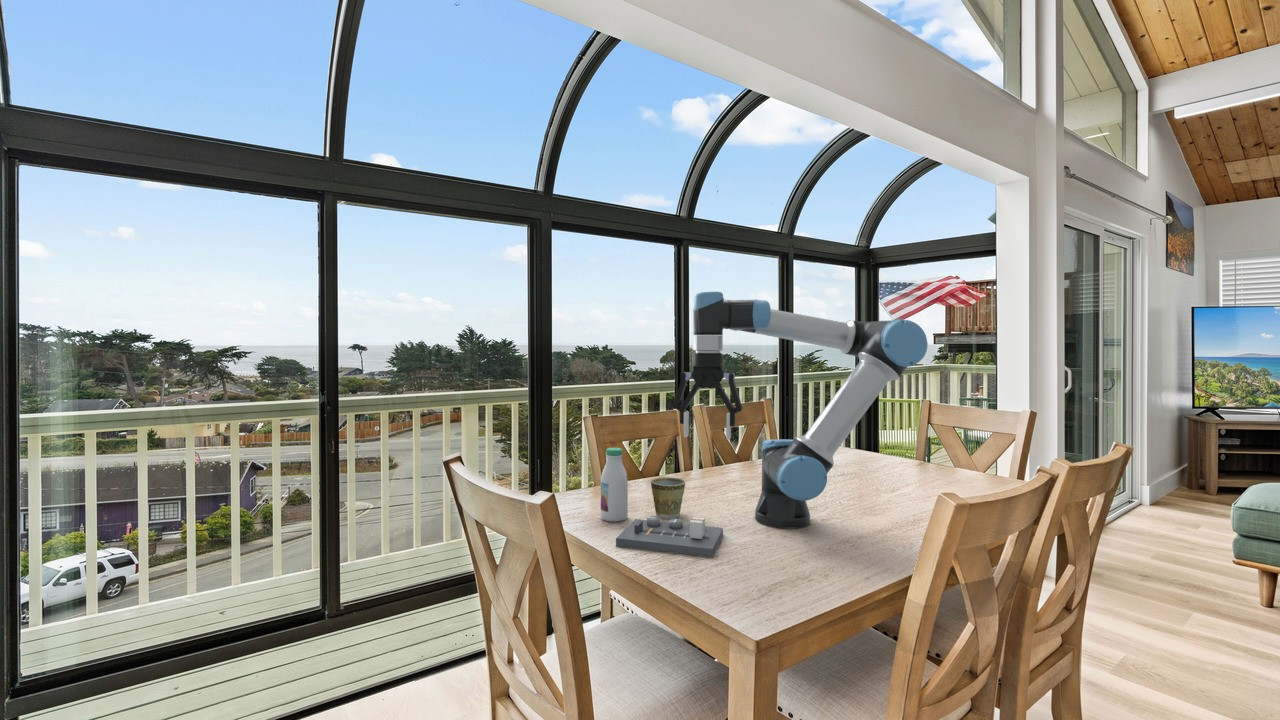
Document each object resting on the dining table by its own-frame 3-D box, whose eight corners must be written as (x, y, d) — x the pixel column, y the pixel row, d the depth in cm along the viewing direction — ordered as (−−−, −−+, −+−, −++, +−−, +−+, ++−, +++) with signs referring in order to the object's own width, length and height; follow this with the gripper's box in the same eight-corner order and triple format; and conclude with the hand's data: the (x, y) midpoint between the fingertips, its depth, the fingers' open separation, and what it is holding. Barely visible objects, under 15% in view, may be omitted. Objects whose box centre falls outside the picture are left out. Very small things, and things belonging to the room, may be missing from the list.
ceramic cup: (679, 522, 163) (679, 486, 163) (645, 518, 166) (646, 483, 166) (691, 509, 175) (691, 476, 175) (660, 506, 179) (660, 473, 178)
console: (722, 535, 152) (723, 520, 152) (712, 557, 137) (712, 540, 137) (635, 526, 159) (635, 511, 159) (615, 546, 144) (616, 530, 144)
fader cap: (704, 533, 146) (705, 517, 146) (701, 539, 143) (702, 522, 142) (692, 532, 147) (693, 516, 147) (689, 537, 143) (689, 521, 143)
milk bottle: (629, 514, 170) (629, 446, 169) (625, 522, 162) (626, 451, 161) (602, 513, 171) (603, 445, 170) (598, 521, 163) (598, 450, 162)
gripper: (754, 352, 150) (753, 437, 151) (668, 351, 157) (667, 433, 157) (751, 352, 143) (750, 442, 144) (660, 351, 150) (660, 437, 150)
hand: (707, 437), depth 151 cm, fingers open, 10 cm apart
